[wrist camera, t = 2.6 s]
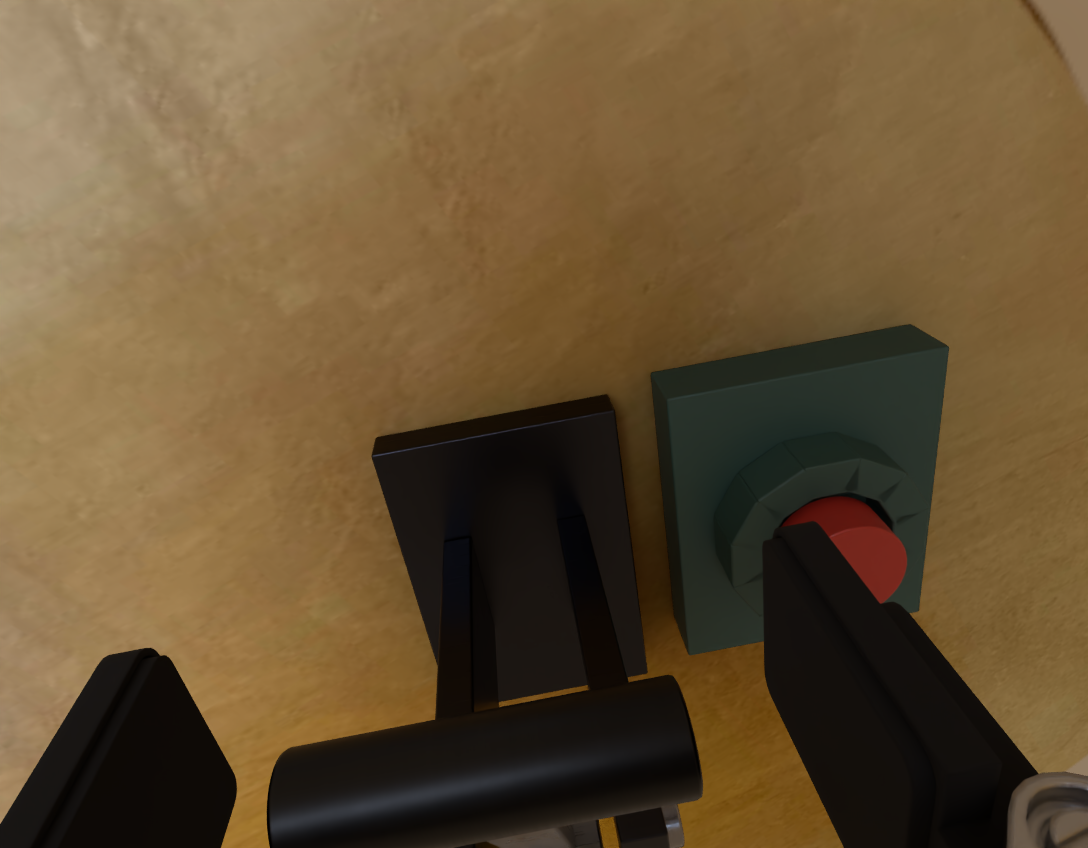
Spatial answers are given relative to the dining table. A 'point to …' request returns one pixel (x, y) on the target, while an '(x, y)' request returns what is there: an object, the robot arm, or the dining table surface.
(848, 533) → the button
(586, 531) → the bracket
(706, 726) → the dining table surface
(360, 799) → the lever
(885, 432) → the button box
